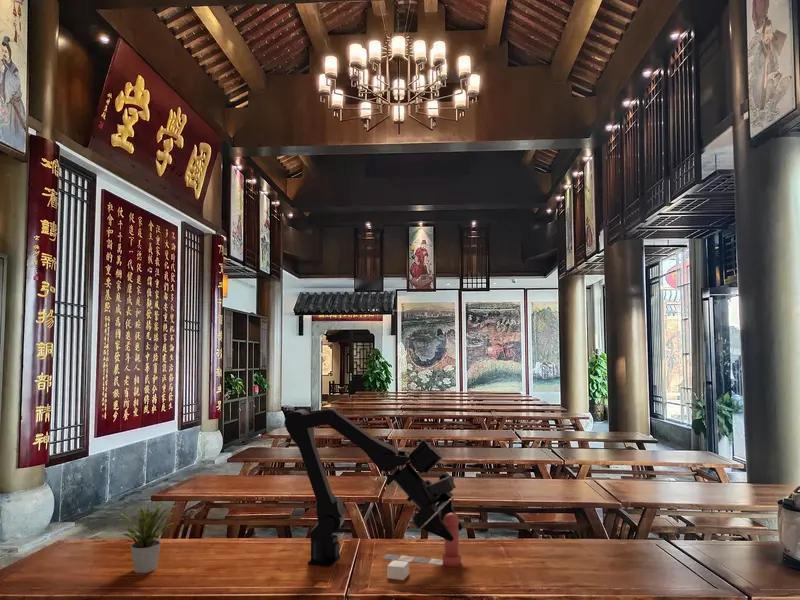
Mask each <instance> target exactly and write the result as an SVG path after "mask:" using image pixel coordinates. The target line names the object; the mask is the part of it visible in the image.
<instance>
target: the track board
mask: <svg viewBox="0 0 800 600" xmlns="http://www.w3.org/2000/svg"><path fill="white" fill-rule="evenodd" d="M382 559H383V560H390V561H391V560H392V561H393V560H397V561H406V562H409V563H410V562H412V563H418V564H419V563H421V564H429V565H437V566H443V559H440V558H429V557H420V556H419V557H418V556H410V555H399V554H393V553H387V554H385V555H384V556H383V557H382ZM455 567H459V566H455Z"/></svg>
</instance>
